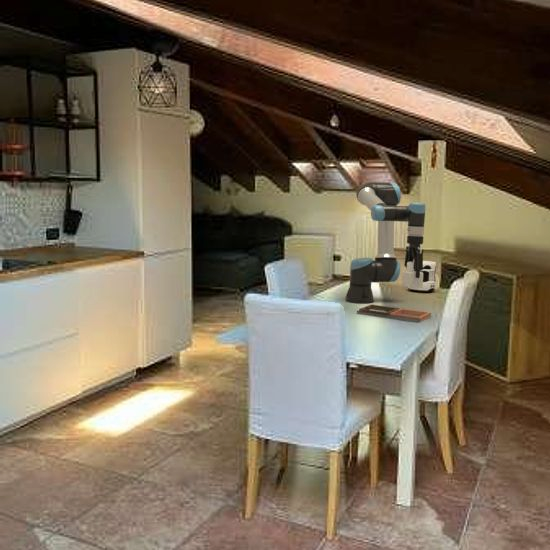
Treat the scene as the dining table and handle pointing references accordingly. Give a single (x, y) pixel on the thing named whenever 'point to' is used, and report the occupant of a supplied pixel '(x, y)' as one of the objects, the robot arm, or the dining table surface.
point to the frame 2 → (422, 314)
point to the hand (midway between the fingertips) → (412, 283)
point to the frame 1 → (377, 307)
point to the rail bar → (388, 316)
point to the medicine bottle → (411, 276)
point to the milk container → (427, 277)
